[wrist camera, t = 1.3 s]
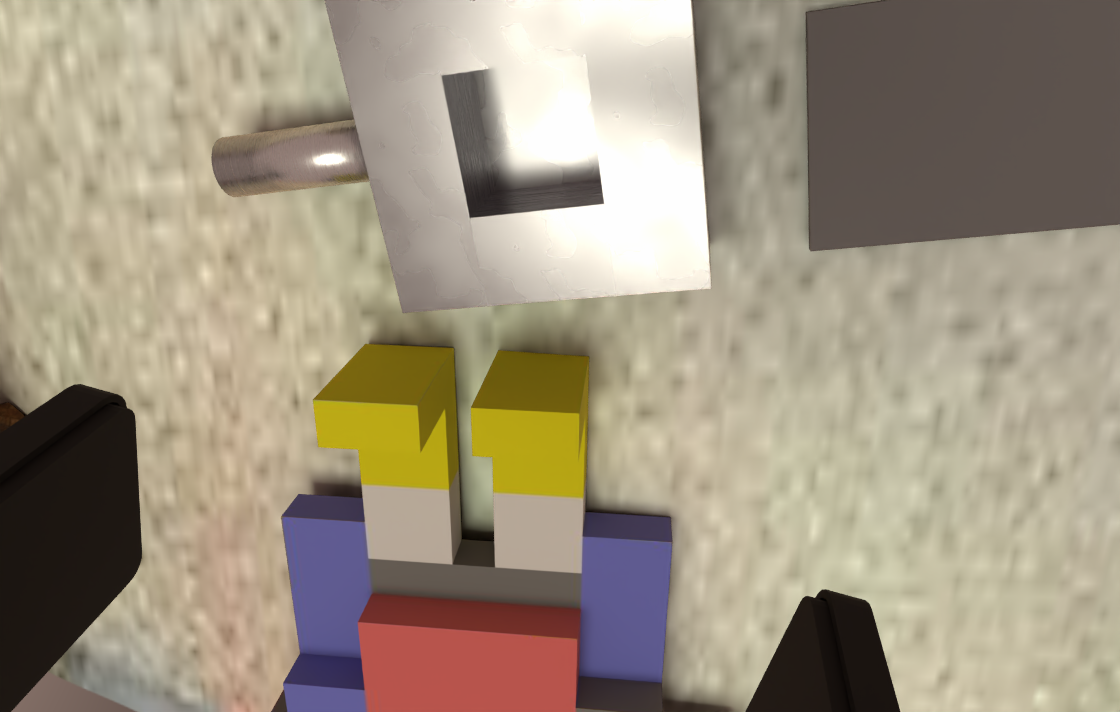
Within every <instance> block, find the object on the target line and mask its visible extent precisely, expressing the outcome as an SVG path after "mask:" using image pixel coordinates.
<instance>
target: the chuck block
mask: <svg viewBox="0 0 1120 712" xmlns="http://www.w3.org/2000/svg"><path fill="white" fill-rule="evenodd" d="M325 4H326V8H327V12H328V16H329V20H330V24H331V28H332V32H333V36H334V40H335V44H336V48H337V52H338V56H339V60H340V64H341V68H342V72H343V76H344V80H345V84H346V88H347V92H348V96H349V100H350V104H351V108H352V112H353V116H354V119H353V120H346V121H339V122H331V123H324V124H317V125H310V126H302V127H295V128H288V129H280V130H273V131H266V132H258V133H251V134H244V135H237V136H229V137H222V138H220V139H218V140H217V141H216V142H215V144H214V146H213V149H212V167H213V171H214V175H215V177H216V180H217V182H218V183H219V185H220V187H221V188H222V189H223V190H224V191H225V192H226V193H227V194H228V195H230V196H232V197H241V196H249V195H258V194H266V193H275V192H283V191H292V190H300V189H309V188H317V187H325V186H334V185H342V184H351V183H359V182H368V181H370V184H371V188H372V192H373V196H374V200H375V204H376V208H377V212H378V216H379V220H380V224H381V228H382V232H383V236H384V240H385V244H386V248H387V252H388V256H389V260H390V264H391V268H392V272H393V276H394V280H395V284H396V288H397V292H398V296H399V300H400V304H401V308H402V312H403V313H408V312H420V311H433V310H445V309H458V308H470V307H483V306H496V305H508V304H521V303H533V302H546V301H558V300H571V299H584V298H596V297H609V296H621V295H634V294H646V293H659V292H672V291H684V290H697V289H709V288H711V265H710V240H709V225H708V211H707V196H706V182H705V168H704V153H703V139H702V125H701V110H700V96H699V81H698V67H697V53H696V38H695V24H694V10H693V0H325Z"/></svg>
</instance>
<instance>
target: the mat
mask: <svg viewBox="0 0 1120 712" xmlns="http://www.w3.org/2000/svg"><path fill="white" fill-rule="evenodd" d="M806 46H807V117H808V188H809V249H810V251H819V250H831V249H842V248H854V247H865V246H877V245H888V244H900V243H911V242H923V241H934V240H946V239H957V238H969V237H980V236H992V235H1003V234H1015V233H1026V232H1038V231H1049V230H1061V229H1072V228H1084V227H1095V226H1107V225H1118V224H1120V0H884V1H877V2H871V3H864V4H857V5H850V6H844V7H837V8H830V9H824V10H817V11H810V12H806Z"/></svg>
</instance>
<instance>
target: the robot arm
mask: <svg viewBox="0 0 1120 712" xmlns="http://www.w3.org/2000/svg"><path fill="white" fill-rule="evenodd" d="M141 558H142V543H141V523H140V503H139V483H138V463H137V443H136V423H135V415H134V413H133V411H132V410H130V409H128V408H127V407H126V402H125V400H124V399H123V397H122V396H120V395H118V394H114V393H110V392H107V391H103V390H100V389H96V388H92V387H89V386H85V385H81V384H77V385H73V386H70V387H68V388H67V389H65V390H64V391H62V392H61V393H59V394H58V395H56V396H55V397H53V398H52V399H50V400H49V401H47V402H46V403H44V404H43V405H41V406H40V407H38V408H37V409H35V410H34V411H32V412H31V413H29V414H28V415H26V416H25V417H23V418H22V419H20V420H19V421H17V422H16V423H15V424H13V425H12V426H10V427H9V428H7V429H6V430H4V431H3V432H1V433H0V712H11V711H12V710H13V709H14V708H15V707H16V706H17V705H18V703H19V702H20V701H21V700H22V699H23V698H24V697H25V696H26V695H27V693H29V691H30V690H31V689H32V688H33V687H34V686H35V685H36V684H37V683H38V681H39V680H40V679H41V678H42V677H43V676H44V675H45V674H46V673H47V672H48V671H49V670H50V669H51V667H52V666H53V665H54V664H55V663H56V662H57V661H58V660H59V659H60V658H61V657H62V655H63V654H64V653H65V652H66V651H67V650H68V649H69V648H70V647H71V646H72V645H73V643H74V642H75V641H76V640H77V639H78V638H79V637H80V636H81V635H82V634H83V633H84V631H85V630H86V629H87V628H88V627H89V626H90V625H91V624H92V623H93V622H94V621H95V619H96V618H97V617H98V616H99V615H100V614H101V613H102V612H103V611H104V610H105V609H106V607H107V606H108V605H109V604H110V603H111V602H112V601H113V600H114V599H115V598H116V597H117V595H118V594H119V593H120V592H121V591H122V590H123V589H124V588H125V587H126V586H127V584H128V583H129V582H130V581H131V580H132V578H133V577H134V576H135V574H136V572H137V570H138V568H139V565H140V562H141ZM746 712H900V709H899V705H898V702H897V698H896V695H895V691H894V687H893V684H892V680H891V677H890V673H889V669H888V666H887V662H886V659H885V655H884V651H883V648H882V644H881V641H880V637H879V633H878V630H877V626H876V623H875V619H874V615H873V612H872V609H871V607H870V604H869V603H868V602H867V601H866V600H862V599H859V598H855V597H851V596H848V595H844V594H840V593H837V592H833V591H830V590H821V591H820V592H819V593H818V594H817V596H816V597H815V598H813V597H809V596H805V597H804V598H803V599H802V600H801V602H800V604H799V606H798V608H797V610H796V612H795V614H794V616H793V618H792V620H791V622H790V624H789V626H788V628H787V630H786V632H785V634H784V636H783V638H782V640H781V642H780V644H779V646H778V648H777V650H776V652H775V654H774V656H773V658H772V660H771V662H770V664H769V666H768V668H767V670H766V672H765V674H764V676H763V678H762V680H761V682H760V684H759V686H758V688H757V690H756V692H755V694H754V696H753V698H752V700H751V702H750V704H749V706H748V708H747V710H746Z"/></svg>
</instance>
